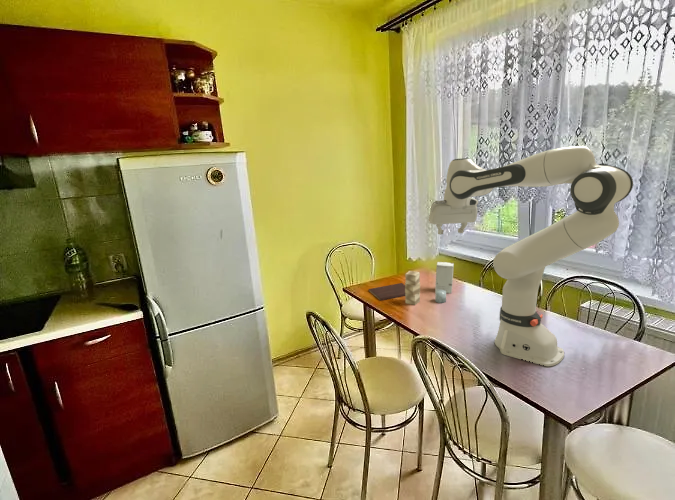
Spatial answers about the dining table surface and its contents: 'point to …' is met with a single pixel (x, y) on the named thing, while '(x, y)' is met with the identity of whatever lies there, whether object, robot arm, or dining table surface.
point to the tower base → (412, 299)
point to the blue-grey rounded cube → (440, 296)
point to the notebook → (389, 291)
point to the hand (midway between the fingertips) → (450, 233)
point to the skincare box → (444, 276)
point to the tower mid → (412, 289)
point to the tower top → (412, 278)
